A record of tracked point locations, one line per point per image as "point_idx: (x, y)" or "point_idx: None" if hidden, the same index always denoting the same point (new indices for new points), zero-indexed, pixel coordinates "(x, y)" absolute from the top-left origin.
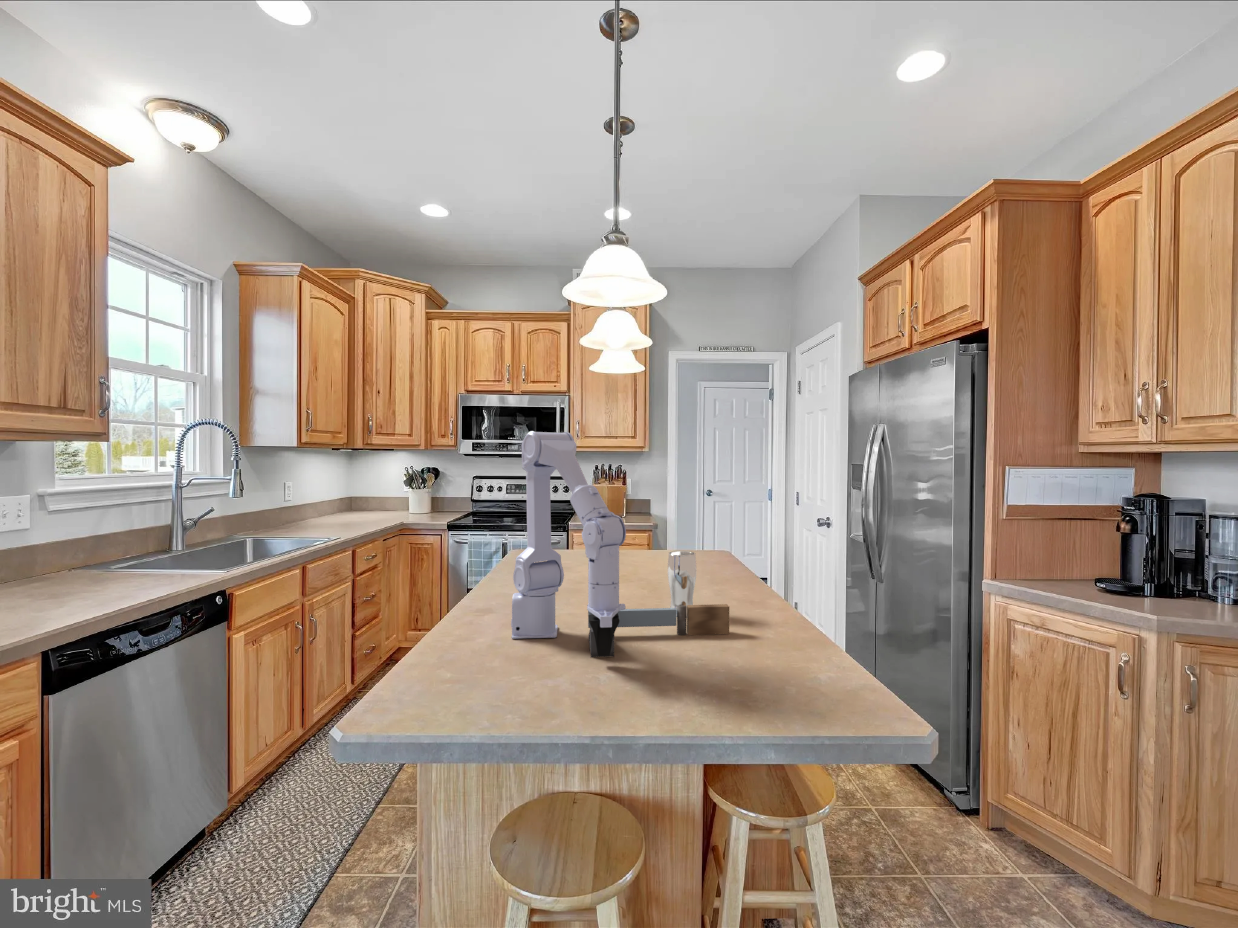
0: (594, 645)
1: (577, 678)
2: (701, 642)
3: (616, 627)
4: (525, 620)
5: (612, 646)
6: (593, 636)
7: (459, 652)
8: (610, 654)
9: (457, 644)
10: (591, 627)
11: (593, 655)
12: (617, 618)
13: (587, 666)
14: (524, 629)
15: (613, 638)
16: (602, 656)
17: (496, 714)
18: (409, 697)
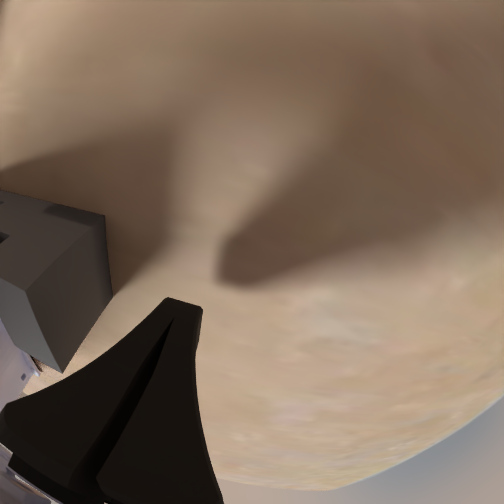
0: (87, 317)
1: (298, 380)
2: None
3: (214, 474)
4: (9, 381)
5: (78, 247)
6: (70, 350)
7: None
8: (100, 235)
9: None
10: (17, 345)
11: (108, 293)
12: (113, 497)
13: (201, 336)
14: (19, 368)
15: (52, 267)
16: (106, 261)
17: (376, 455)
18: (269, 480)
